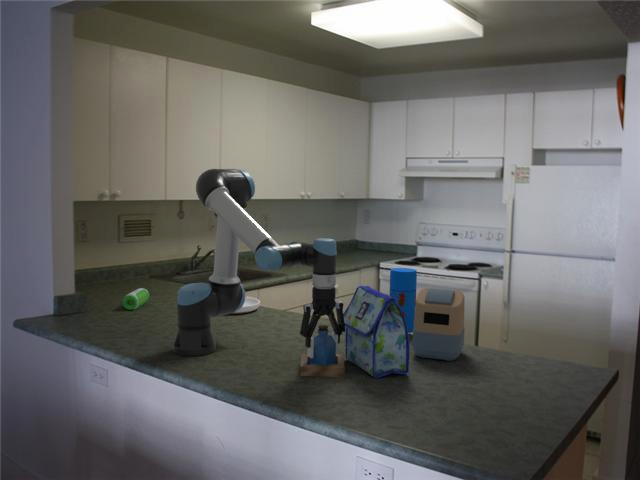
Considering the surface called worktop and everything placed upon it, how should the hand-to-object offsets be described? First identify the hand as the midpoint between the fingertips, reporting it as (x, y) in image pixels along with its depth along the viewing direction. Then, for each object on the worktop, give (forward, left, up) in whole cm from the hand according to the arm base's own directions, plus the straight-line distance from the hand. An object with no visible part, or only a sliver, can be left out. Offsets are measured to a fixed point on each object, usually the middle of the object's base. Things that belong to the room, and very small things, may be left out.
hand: (322, 355), depth 198 cm
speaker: (-88, +85, -5) cm, 122 cm away
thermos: (+32, +53, -5) cm, 62 cm away
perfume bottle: (0, 0, -3) cm, 3 cm away
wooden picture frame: (0, 0, -5) cm, 5 cm away
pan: (-50, +89, -5) cm, 102 cm away
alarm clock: (+41, +19, -5) cm, 45 cm away
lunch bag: (+17, +3, -5) cm, 18 cm away
